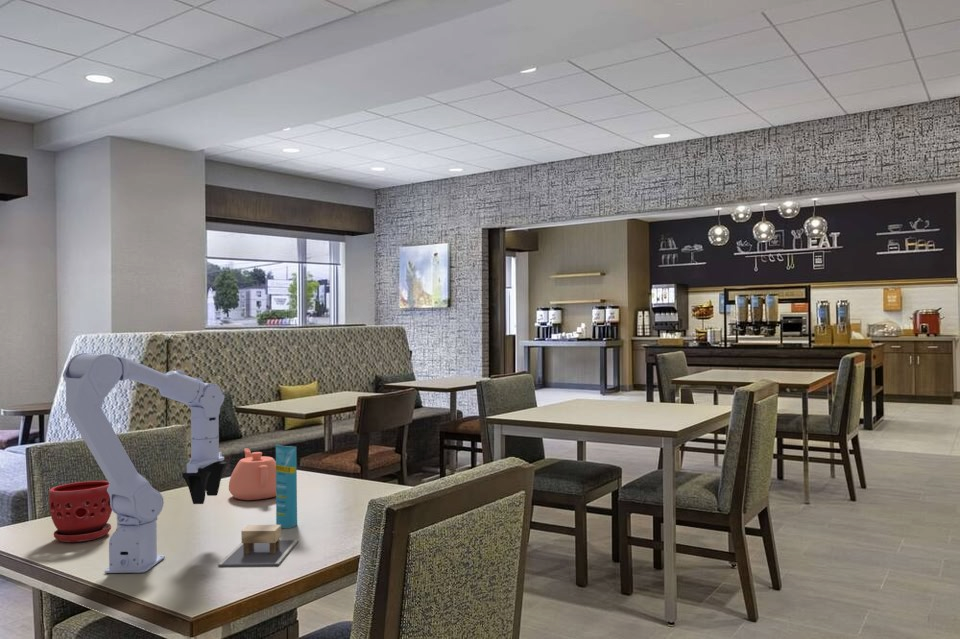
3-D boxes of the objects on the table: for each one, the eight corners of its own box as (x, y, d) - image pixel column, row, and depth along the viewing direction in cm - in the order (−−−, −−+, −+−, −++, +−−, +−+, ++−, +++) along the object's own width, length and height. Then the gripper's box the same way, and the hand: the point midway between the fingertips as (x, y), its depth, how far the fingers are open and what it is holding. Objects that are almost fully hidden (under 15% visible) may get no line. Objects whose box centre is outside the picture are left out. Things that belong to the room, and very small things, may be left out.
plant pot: (127, 531, 172) (126, 480, 172) (82, 547, 160) (82, 492, 160) (81, 527, 176) (81, 477, 176) (35, 543, 163) (34, 489, 163)
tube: (268, 526, 175) (267, 445, 175) (283, 521, 179) (282, 442, 179) (291, 530, 171) (290, 448, 171) (305, 525, 175) (305, 444, 175)
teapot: (220, 491, 212) (220, 449, 212) (272, 485, 220) (272, 444, 220) (237, 507, 193) (237, 460, 194) (294, 499, 201) (293, 455, 201)
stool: (241, 555, 152) (241, 531, 152) (248, 548, 156) (248, 525, 156) (275, 554, 152) (275, 530, 152) (281, 548, 156) (281, 524, 156)
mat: (278, 565, 146) (278, 563, 146) (218, 566, 146) (218, 564, 146) (298, 541, 162) (298, 539, 162) (244, 542, 162) (244, 540, 162)
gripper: (210, 442, 154) (210, 507, 153) (234, 432, 168) (235, 491, 168) (176, 442, 154) (177, 507, 154) (204, 432, 168) (204, 491, 168)
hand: (205, 499), depth 161 cm, fingers open, 7 cm apart
